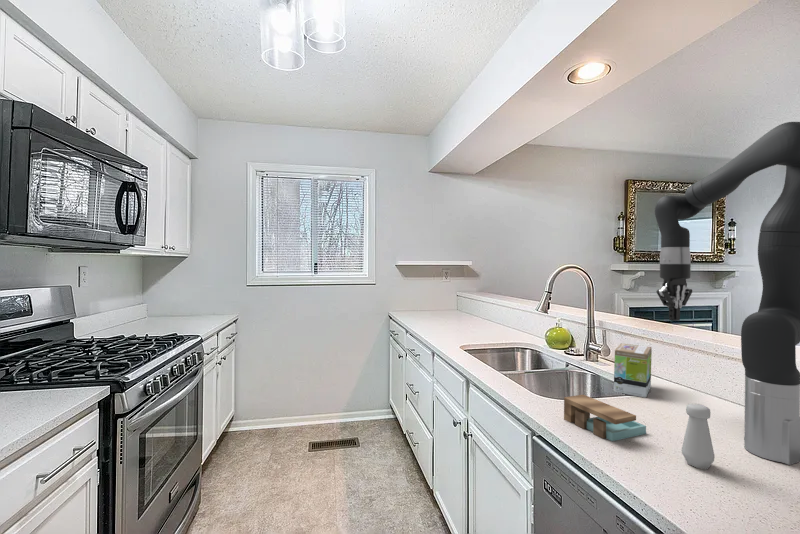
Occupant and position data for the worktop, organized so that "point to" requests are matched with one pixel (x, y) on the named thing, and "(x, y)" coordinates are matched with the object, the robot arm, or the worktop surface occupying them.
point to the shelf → (583, 405)
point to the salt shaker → (698, 437)
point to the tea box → (632, 369)
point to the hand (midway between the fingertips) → (674, 320)
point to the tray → (619, 429)
